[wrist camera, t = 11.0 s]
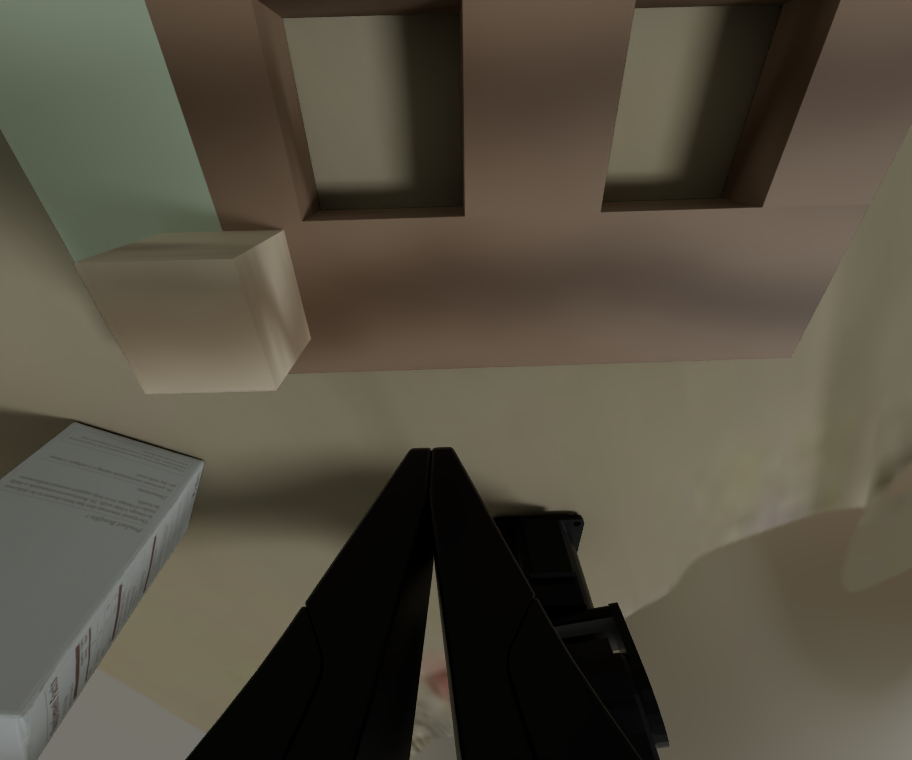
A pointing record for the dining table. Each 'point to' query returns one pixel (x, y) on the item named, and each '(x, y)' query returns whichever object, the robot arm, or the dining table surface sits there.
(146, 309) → the birch block
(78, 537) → the supplement box
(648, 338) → the trap deck
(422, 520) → the robot arm
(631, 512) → the dining table surface
